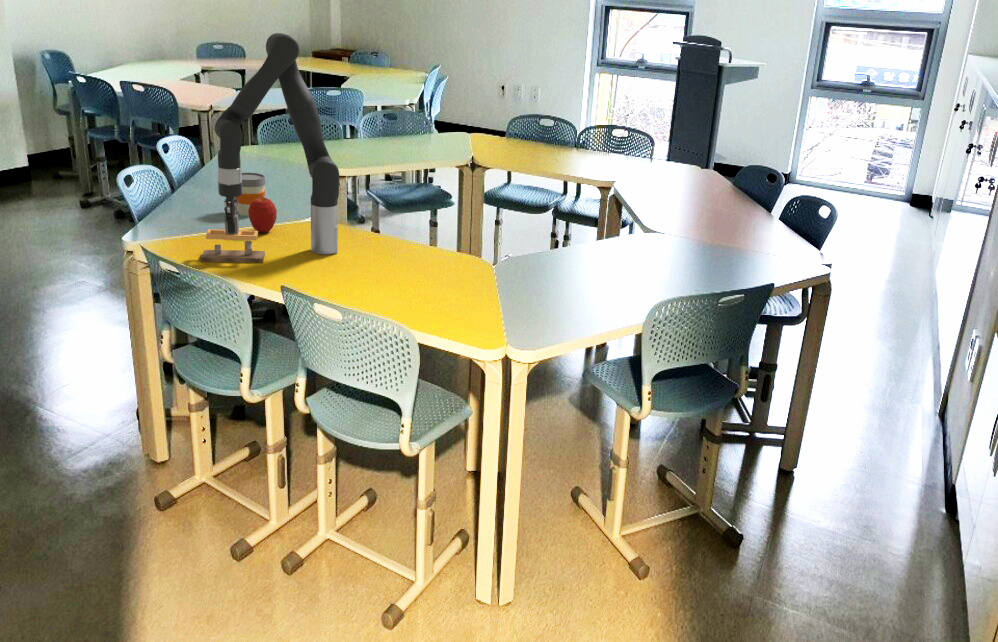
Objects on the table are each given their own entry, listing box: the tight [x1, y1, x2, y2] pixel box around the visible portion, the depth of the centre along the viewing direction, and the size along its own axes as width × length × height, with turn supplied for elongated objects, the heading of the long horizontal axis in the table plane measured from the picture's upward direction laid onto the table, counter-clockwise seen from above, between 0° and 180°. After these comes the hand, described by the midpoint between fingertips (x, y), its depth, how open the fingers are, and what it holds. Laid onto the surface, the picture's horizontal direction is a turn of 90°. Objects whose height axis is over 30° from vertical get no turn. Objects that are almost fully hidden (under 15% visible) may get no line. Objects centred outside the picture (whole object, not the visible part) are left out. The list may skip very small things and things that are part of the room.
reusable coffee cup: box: [236, 172, 267, 217], centre depth 335 cm, size 13×13×15 cm
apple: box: [248, 196, 277, 234], centre depth 315 cm, size 10×10×14 cm
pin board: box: [200, 240, 266, 264], centre depth 287 cm, size 20×8×6 cm, turn 100°
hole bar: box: [205, 213, 259, 241], centre depth 284 cm, size 16×6×8 cm, turn 99°
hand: (232, 230), depth 285 cm, fingers closed on hole bar, 3 cm apart
